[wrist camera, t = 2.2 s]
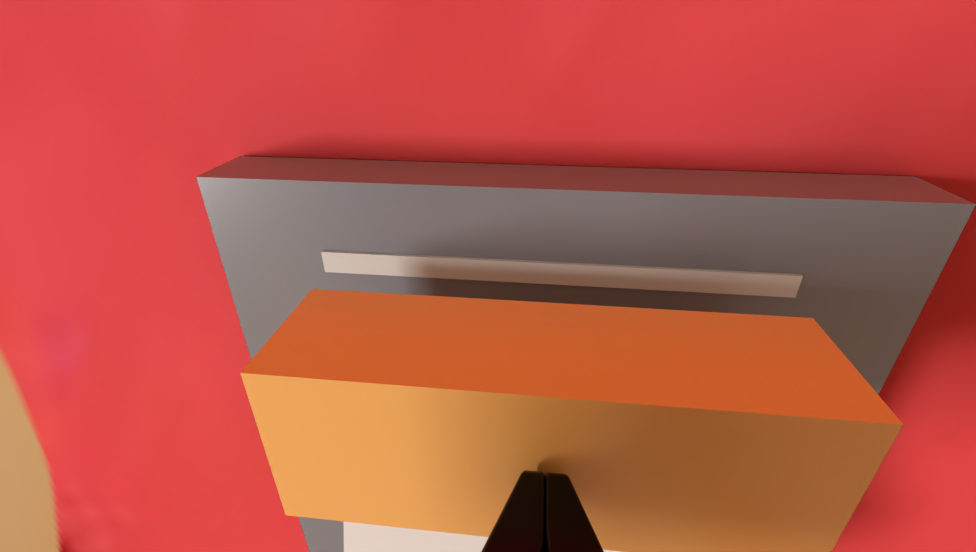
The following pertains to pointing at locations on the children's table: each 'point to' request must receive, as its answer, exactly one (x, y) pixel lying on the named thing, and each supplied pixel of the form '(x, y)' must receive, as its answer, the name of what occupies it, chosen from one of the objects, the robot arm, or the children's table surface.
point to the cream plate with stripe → (408, 540)
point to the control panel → (585, 244)
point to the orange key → (568, 419)
